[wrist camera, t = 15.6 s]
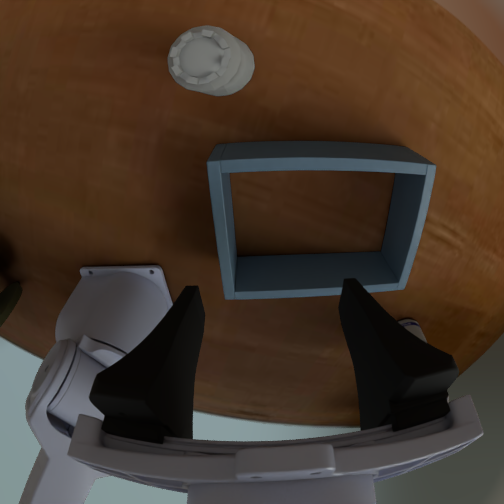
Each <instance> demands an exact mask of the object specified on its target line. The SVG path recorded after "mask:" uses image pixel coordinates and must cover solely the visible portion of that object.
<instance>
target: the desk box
mask: <svg viewBox="0 0 504 504" xmlns="http://www.w3.org/2000/svg"><path fill="white" fill-rule="evenodd" d="M206 163H207V172H208V180H209V189H210V197H211V205H212V212H213V220H214V228H215V235H216V242H217V249H218V256H219V263H220V270H221V277H222V283H223V290H224V296H225V299H266V298H291V297H310V296H328V295H341V292H342V286H343V281H344V279H346V278H356V279H357V280H358V281H359V282H360V284H361V285H362V286H363V287H364V288H365V289H366V290H367V291H368V293H369V292H381V291H392V290H402V289H404V288H405V285H406V282H407V280H408V277H409V274H410V271H411V267H412V264H413V261H414V258H415V255H416V251H417V248H418V245H419V241H420V237H421V234H422V230H423V226H424V222H425V218H426V214H427V210H428V206H429V201H430V196H431V192H432V187H433V182H434V176H435V170H436V165H435V164H434V163H432V162H430V161H429V160H427V159H426V158H424V157H422V156H421V155H419V154H418V153H416V152H414V151H413V150H411V149H409V148H407V147H403V146H394V145H383V144H371V143H356V142H335V141H262V142H240V143H227V144H217V145H216V146H215V148H214V150H213V151H212V153H211V155H210V157H209V158H208V160H207V162H206ZM286 170H339V171H370V172H390V173H395V179H394V186H393V193H392V199H391V204H390V210H389V215H388V221H387V226H386V231H385V235H384V240H383V244H382V249H381V251H377V252H352V253H326V254H300V255H273V256H246V257H237V249H236V238H235V228H234V217H233V206H232V195H231V184H230V173H234V172H254V171H286Z"/></svg>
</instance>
